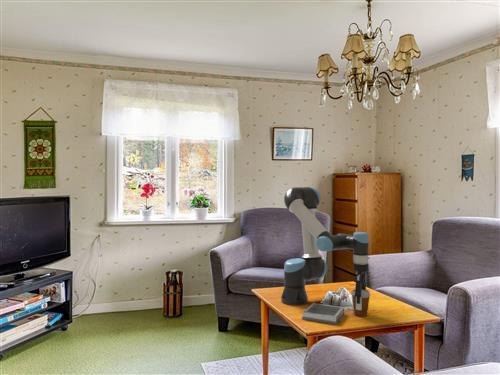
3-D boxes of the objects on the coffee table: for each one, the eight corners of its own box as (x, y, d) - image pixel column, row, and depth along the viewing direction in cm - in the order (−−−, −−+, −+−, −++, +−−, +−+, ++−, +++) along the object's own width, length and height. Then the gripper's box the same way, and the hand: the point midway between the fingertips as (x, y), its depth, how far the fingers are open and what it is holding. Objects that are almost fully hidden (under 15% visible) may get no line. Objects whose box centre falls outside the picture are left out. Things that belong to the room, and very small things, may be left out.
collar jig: (302, 319, 198) (302, 312, 198) (312, 309, 213) (312, 302, 213) (336, 324, 191) (336, 317, 191) (344, 314, 206) (344, 307, 206)
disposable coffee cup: (367, 319, 198) (367, 294, 198) (348, 315, 203) (348, 292, 203) (372, 314, 206) (372, 290, 206) (354, 310, 211) (354, 287, 211)
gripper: (364, 267, 193) (364, 314, 193) (372, 259, 213) (371, 302, 213) (348, 266, 196) (348, 312, 197) (357, 258, 216) (357, 300, 216)
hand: (360, 306), depth 205 cm, fingers closed on disposable coffee cup, 9 cm apart
